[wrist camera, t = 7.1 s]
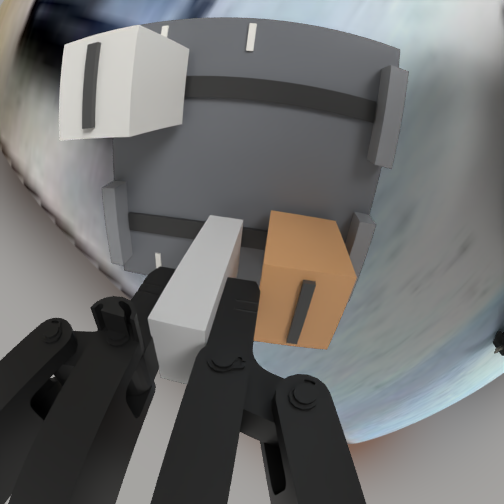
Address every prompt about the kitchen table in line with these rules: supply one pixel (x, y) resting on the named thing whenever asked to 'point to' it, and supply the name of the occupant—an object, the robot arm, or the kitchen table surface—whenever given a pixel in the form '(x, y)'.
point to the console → (259, 141)
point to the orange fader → (303, 281)
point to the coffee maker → (499, 343)
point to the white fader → (121, 84)
